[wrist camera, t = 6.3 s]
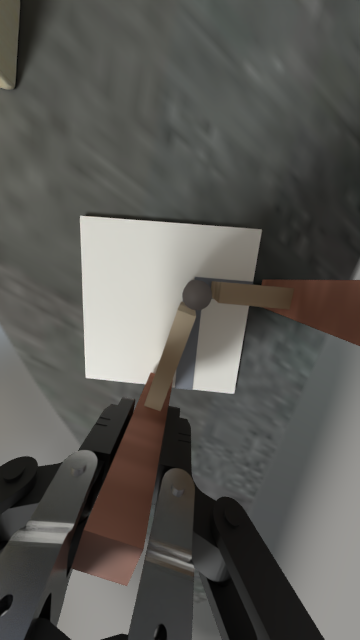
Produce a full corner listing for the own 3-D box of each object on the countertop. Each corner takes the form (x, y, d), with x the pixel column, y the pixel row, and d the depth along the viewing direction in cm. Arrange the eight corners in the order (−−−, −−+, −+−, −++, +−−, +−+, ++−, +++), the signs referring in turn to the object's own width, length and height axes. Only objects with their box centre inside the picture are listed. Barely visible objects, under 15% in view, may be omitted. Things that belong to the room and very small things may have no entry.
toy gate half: (175, 299, 13) (141, 346, 4) (200, 308, 13) (221, 373, 4) (144, 391, 14) (71, 568, 6) (165, 399, 14) (126, 586, 6)
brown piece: (187, 273, 13) (180, 257, 3) (286, 281, 13) (575, 290, 3) (185, 298, 13) (172, 347, 4) (281, 307, 13) (524, 382, 4)
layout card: (83, 217, 13) (79, 215, 12) (259, 230, 12) (262, 229, 12) (88, 375, 15) (85, 378, 15) (232, 390, 15) (234, 394, 14)
